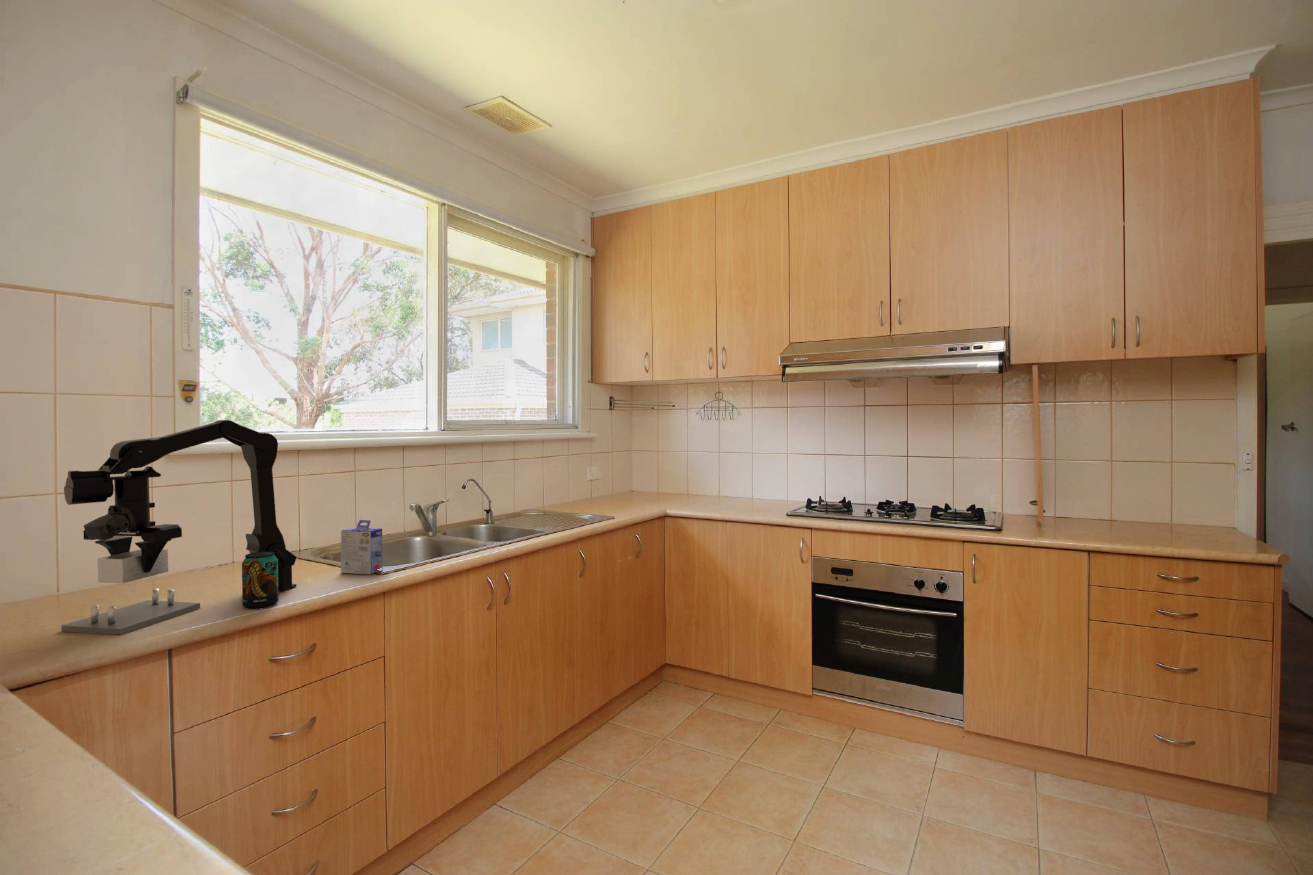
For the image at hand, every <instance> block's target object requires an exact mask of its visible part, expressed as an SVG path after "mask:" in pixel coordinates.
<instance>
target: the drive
mask: <svg viewBox="0 0 1313 875" xmlns="http://www.w3.org/2000/svg"><path fill="white" fill-rule="evenodd" d="M168 551H169V550H168V549H167V548H166V549H164V548H163V549H162V551H161V553H160V554H159V556H158V558H157V560H156V562H155V564H154V565H153V567H152V569H151V571H150V572H148V573H144V570H143V565H142V555H141V549H140V548H139V549H136V550H132V551H131V550H130V552H126V553H121V554H116V555H112V556H111V555H107V556H103V557H98V558H97V583H105V584H126V583H130V582H133V581H137V580H141V579H145V578H151V577H153V576H157V575H162V574H165V573H168V572H169V559H168V558H169V555H168V554H169V552H168Z"/></svg>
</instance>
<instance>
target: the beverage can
mask: <svg viewBox="0 0 1313 875" xmlns="http://www.w3.org/2000/svg"><path fill="white" fill-rule="evenodd" d="M274 554H275V553H274V552H255V553H250V552H249V553H246V554H245V555H244V557H245V558H244V559H243V561H242V563H241V585H242V586H241V588H242V591H241V592H242V593H241V598H242V602H241V603H242V606H243V607H244V608H245V609H246V608H247V609H246V610H261V609H260V608H263V609H268V608H271V607H273V606H276V604H277V603H278V601H279V599H280V598H279V592H278V559H277V558H276V557H275V555H274ZM270 606H271V607H270ZM267 607H268V608H267Z"/></svg>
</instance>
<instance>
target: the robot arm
mask: <svg viewBox="0 0 1313 875" xmlns="http://www.w3.org/2000/svg"><path fill="white" fill-rule="evenodd" d="M219 439H225V440H227V441H228V442H230V443H231V444H234V445H235V446H237V447H240V448H241V453H242V456H243V458H244V461H245V463H246V464H247V466H248V468H249V472H250V482H251V484H250V485H251V494H252V506H253V507H252V508H253V520H254V527H253V530H252V532H251V533H246V534H245V539H246V548H245V550H246V551H249V554H250V553H255V552H274V553H275V554H274V555H275V557H276V558H277V559H278V593H281V592H284V591H286V590H289V589H293V588H295V587H297V585H298V584H296V583H293V566H295V563H296V561H297V556H296V555H295V554H293V553H292V552H290V551H289V550H288V549H287V546H286V543H285V539H284V535H283V534H282V532H281V530H280V528H279V526H278V524H277V515H276V514H277V513H276V511H277V510H276V502H275V501H276V500H275V498H276V497H275V489H274V488H275V487H274V486H275V485H274V476H273V468H274V464H275V462H276V460H277V457H278V448H279V442H278V439H277V437H276V436H274V435H273V434H272V433H269V432H259V431H257V430H254V429H251V428H249V427H246V426H243V425H242V424H238V423H236V422H234V421H233V420H231V419H219V420H216V421H214V422H211V423H208V424H204V425H200V426H197V427H193V428H190V429H185V430H181V431H178V432H174V433H171V434H167V435H164V436H158V437H151V438H149V437H147V438H139V439H129V440H122V441H119V442H117V443H115V444H114V445H113V446H112V447H111V449H110V452H109V457H108V458H107V459H106V460H105V461H104V462H103V464H102V465H101V466H100V467H98V469H97V470H84V471H83V470H82V471H81V470H68V471H67V477H66V480H65V485H64V487H63V492H64V500H65V502H66V504H67V505H69V506H70V505H82V504H84V505H85V504H95V503H96V504H97V503H106V501H107V500H108V498H111V497H113V494H114V505H113V504H112V505H109V507H108V508H107V514H105V515H103V516H99V517H97V518H95V519H93V520H91V521H90V522H87V523H85V524H84V525H83V528H84V530H83V531H82V532H83V533H82V534H83V540H89V541H94V543H95V544H96V545H97V544H98V545H100V546H101V547H103V548H105V549H106V550H107V552H108V553H109V556H112V555H116V554H121V553H126V552H130V551H131V546H132V541H133V537H140V539H142V541H138V542H134V544H135V545H136V546H137V547H138V548H139V550H140V549H141V555H142V565H143V570H144V573H148V572H150V571H151V569H152V567H153V565H154V564H155V562H156V560H157V558H158V556H159V554H160V553H161V551H162V549H164V547H165V546H167V544H168V542H171V541H172V540H174V539H178V538H183V530H182V528H183V527H181V526H180V525H179V524H173V523H170V524H169V523H163V524H157V525H156V521H155V520H151V508H156V502H150V478H160V477H161V476H162V473H161V472H158V471H157V470H155V469H154V467H152V466H151V465H150V464H152V463H155V462H156V461H159V460H161V459H163V457H166V456H168V455H170V454H172V453H175V452H178V451H181V450H185V449H189V448H191V447H196V446H198V445H202V444H205V443H210V442H213V441H216V440H217V441H218V440H219ZM148 465H150V466H148ZM143 467H144V468H143ZM141 468H143V469H141ZM132 469H136V470H132ZM137 469H138V470H137ZM123 474H124V475H123ZM111 475H113V476H111ZM115 475H117V476H115Z"/></svg>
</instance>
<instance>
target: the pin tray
mask: <svg viewBox="0 0 1313 875" xmlns="http://www.w3.org/2000/svg"><path fill="white" fill-rule="evenodd" d="M159 590H160V588H159V587H157V588H156V587H155V588H152V589H151V600H150V599H149V600H144V601H140V602H137V603H134V604H131V605H126V606H124V607H123V606H122V607H119V608H117V609H116V605H110V606H107V607H106V608H107V612H102V613H100V608H99V604H95V605H94V604H93V605H90V616H89V617H86V618H83V619H82V618H81V619H79V620H76V621H75V620H74V621H72V622H69V623H65V624H62V625H61V629H60V630H61V632H64V633H65V632H66V633H81V634H96V635H97V634H99V635H111V634H122V635H124V633H125V634H127V633H126V632H128V633H130V631H131V632H133V630H134V631H137V630H140V629H143V628H146V627H148V626H152V625H154V623H155V624H158V623H161V622H163V621H166V619H167V620H170V619H172V617H173V618H175V617H179V616H181V615H184V613H185V614H187V613H191V612H193V611H192V610H194V611H196V609H197V610H198V608H200V609H201V602H186V601H185V602H184V601H175V589H174V588H170V589H169V588H168V589H167V590H166V592H167V597H166V598H167V601H166V600H160V592H159ZM190 611H191V612H190ZM178 615H179V616H178ZM160 621H161V622H160ZM145 626H146V627H145ZM139 628H140V629H139Z"/></svg>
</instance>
